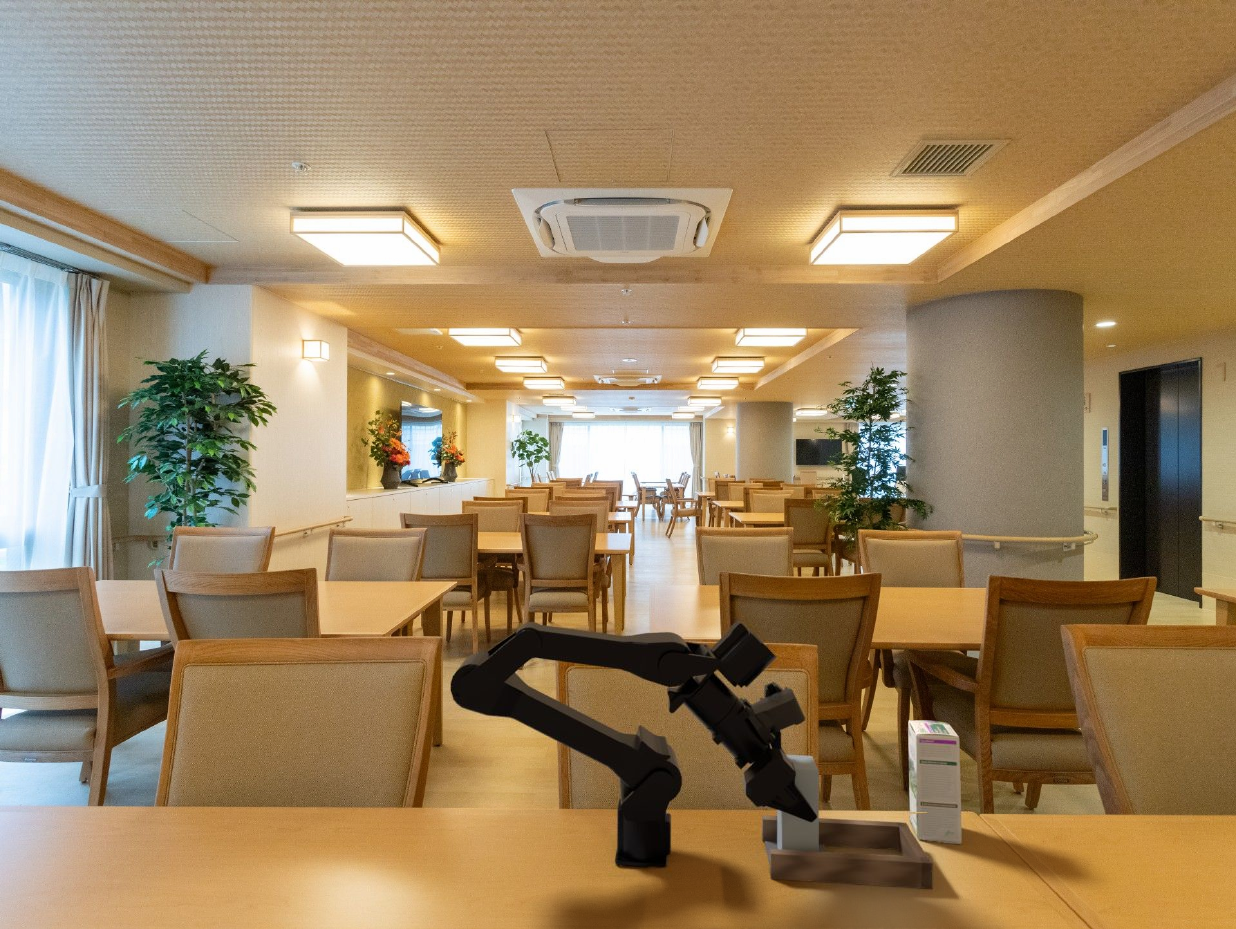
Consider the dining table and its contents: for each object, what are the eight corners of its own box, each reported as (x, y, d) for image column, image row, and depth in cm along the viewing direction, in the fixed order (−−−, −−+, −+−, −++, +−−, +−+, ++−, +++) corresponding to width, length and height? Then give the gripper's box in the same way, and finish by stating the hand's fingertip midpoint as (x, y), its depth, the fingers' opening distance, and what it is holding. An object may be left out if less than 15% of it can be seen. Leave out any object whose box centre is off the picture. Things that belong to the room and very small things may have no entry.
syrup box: (963, 845, 93) (962, 735, 93) (916, 840, 94) (915, 732, 94) (951, 824, 98) (951, 721, 99) (907, 820, 99) (907, 718, 100)
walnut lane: (770, 878, 84) (770, 853, 84) (761, 837, 94) (761, 815, 94) (932, 888, 83) (932, 863, 83) (906, 845, 92) (906, 822, 92)
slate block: (781, 864, 87) (782, 768, 87) (777, 846, 91) (777, 754, 92) (818, 867, 86) (818, 770, 87) (812, 848, 91) (812, 756, 91)
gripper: (775, 691, 81) (873, 791, 79) (758, 652, 99) (837, 733, 98) (707, 756, 81) (803, 857, 80) (702, 705, 100) (780, 786, 98)
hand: (807, 802), depth 89 cm, fingers open, 9 cm apart
